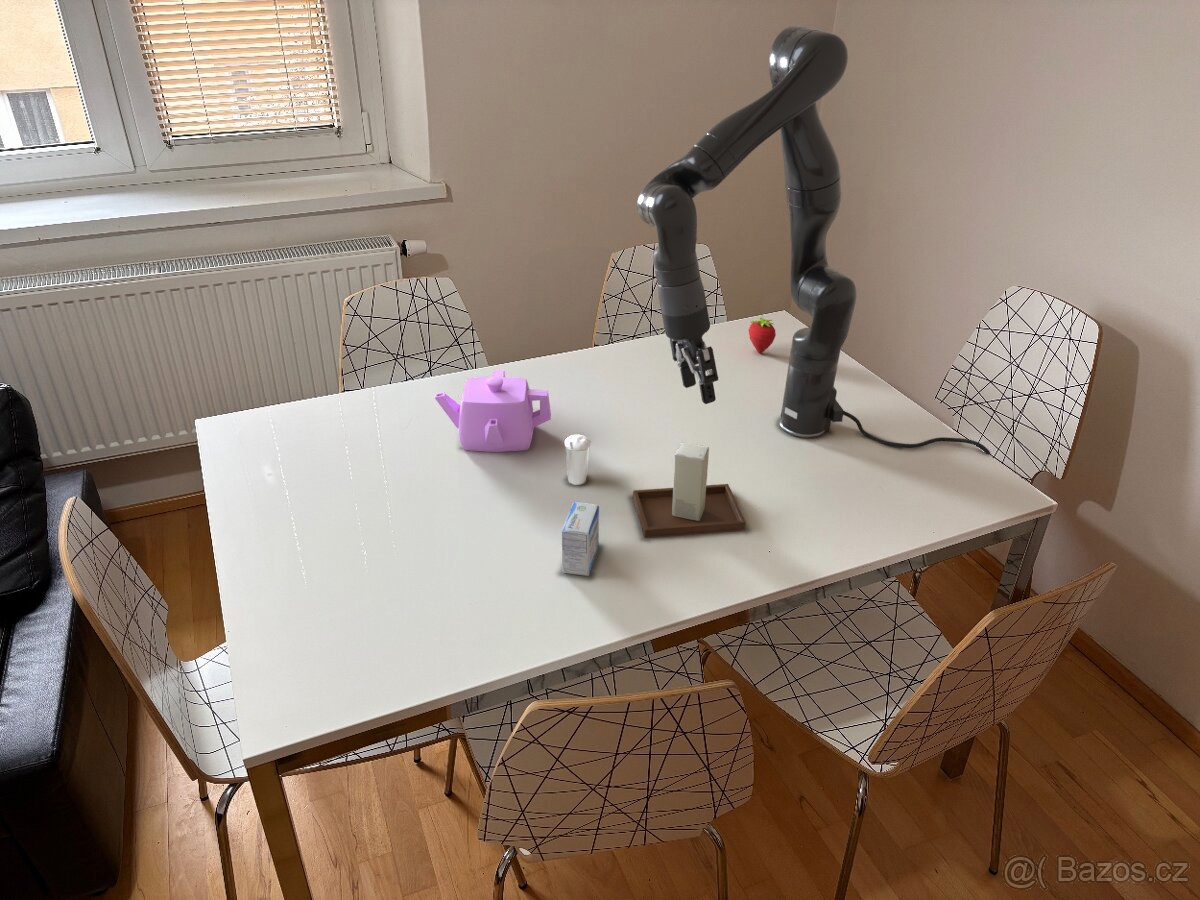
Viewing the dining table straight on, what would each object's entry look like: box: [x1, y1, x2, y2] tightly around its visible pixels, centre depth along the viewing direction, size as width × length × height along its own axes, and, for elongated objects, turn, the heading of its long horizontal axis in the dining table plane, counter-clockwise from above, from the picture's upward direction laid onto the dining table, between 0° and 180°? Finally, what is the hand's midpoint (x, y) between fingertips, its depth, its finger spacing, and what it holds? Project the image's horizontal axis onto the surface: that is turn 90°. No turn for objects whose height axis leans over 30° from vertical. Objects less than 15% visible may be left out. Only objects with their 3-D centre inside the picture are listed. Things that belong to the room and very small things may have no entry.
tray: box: [632, 483, 747, 539], centre depth 152 cm, size 17×11×2 cm, turn 98°
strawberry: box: [748, 313, 777, 355], centre depth 203 cm, size 6×8×10 cm
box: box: [672, 441, 710, 521], centre depth 149 cm, size 5×4×13 cm
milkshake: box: [564, 434, 591, 486], centre depth 157 cm, size 4×5×10 cm
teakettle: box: [434, 369, 552, 453], centre depth 169 cm, size 17×17×12 cm
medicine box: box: [560, 501, 600, 577], centre depth 139 cm, size 8×4×9 cm, turn 168°
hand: (699, 393), depth 151 cm, fingers open, 8 cm apart
